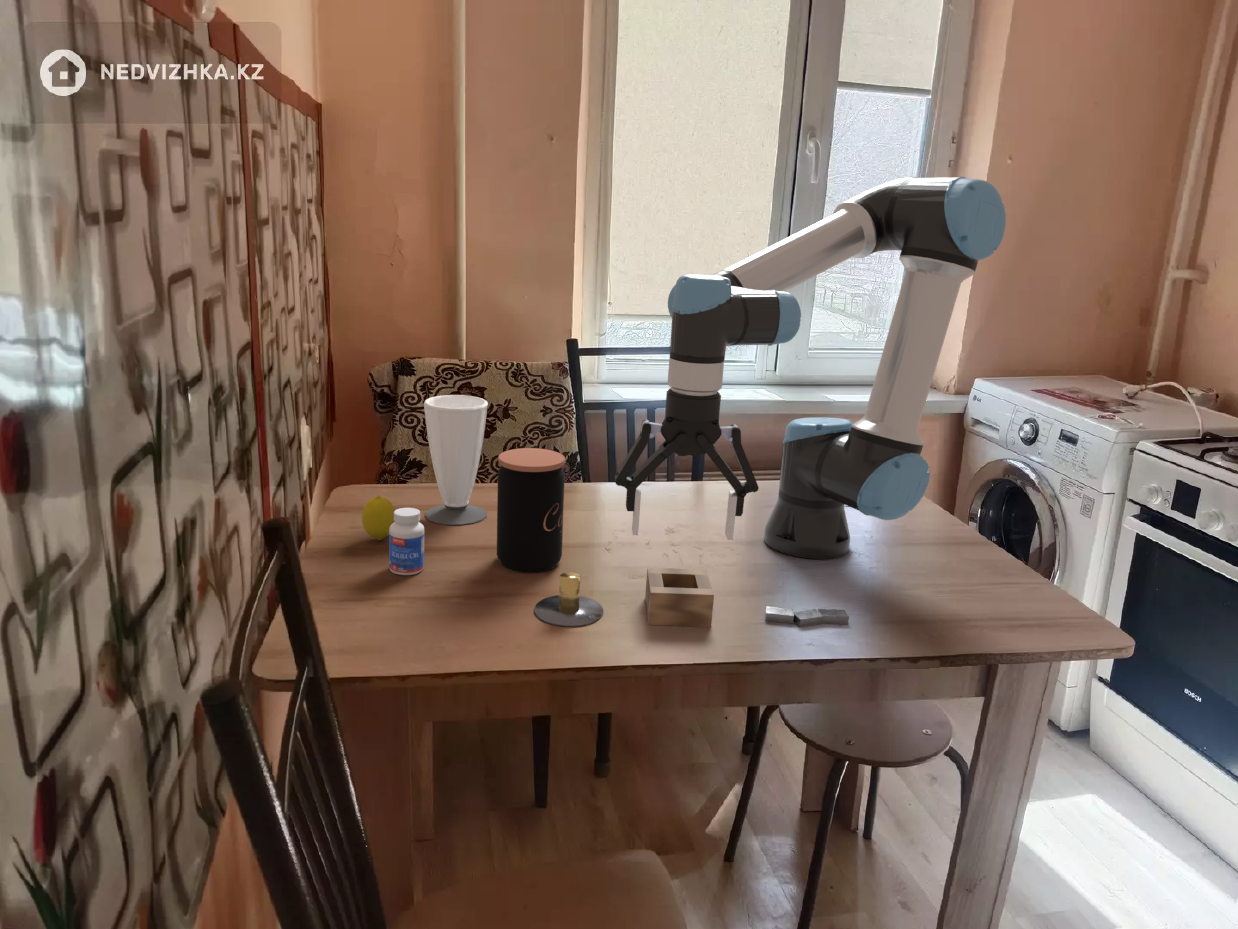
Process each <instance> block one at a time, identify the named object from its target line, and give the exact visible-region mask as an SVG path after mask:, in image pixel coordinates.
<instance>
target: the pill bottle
mask: <svg viewBox="0 0 1238 929" xmlns="http://www.w3.org/2000/svg"><path fill="white" fill-rule="evenodd" d="M394 510H395V511H394V521H395V523H393V524H392V525H391V526H390V528H389V535H388V544H389V545H388V549H389V550H388V554H389V555H388V556H389V559H388V561H389V562H388V566H389V567H388V568H389V571H390V572H392V573H393V574H396V575H399V576H412V575H413V576H414V575H416V574H419V573H421V572H422V571H423V570H424V568H425V526H424V525H423V524H422V523H421V522H420V520H421V511H420V510H419V509H417V508H414V507H400V508H396V509H394Z"/></svg>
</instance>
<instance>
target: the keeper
mask: <svg viewBox="0 0 1238 929" xmlns="http://www.w3.org/2000/svg"><path fill="white" fill-rule="evenodd" d="M558 587H559V589H558V590H559V592H558V593H559V594H558V595H557V594H556V595H552V596H547V597H545V598H542V599H541V600H539V601H538V602H537V603H536V604H535V606H534V614H535V615H536V617H537V618H538V619H539V620H541V621H543V622H545V623H547V624H550V625H552V626H558V627H559V626H560V627H570V628H573V627H582V626H587V625H591V624H594V623H596V622H598V621H599V620H600V619H601V618H602V617H603V615H604V609H603V606H602V605H601V603H599V602H598V601H597V600H594V599H592V598H590V597H588V596H582V595H581V575H580V574H579V573H577V572H571V571H569V572H568V571H567V572H566V571H565V572H563V573H562V572H561V574H560V575H559V586H558Z"/></svg>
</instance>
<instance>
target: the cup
mask: <svg viewBox="0 0 1238 929" xmlns="http://www.w3.org/2000/svg"><path fill="white" fill-rule="evenodd" d="M488 403H489V402H488V401H487V400H486V399H484V398H481V397H478V396H471V395H465V394H447V395H438V396H437V395H436V396H431V397H428V398H427V399H425V400H424V402H423V407H424V408H423V409H424V417H425V418H424V419H425V424H426V435H427V440H428V445H429V446H428V447H429V451H430V452H429V453H430V456H431V462H432V468H433V471H434V475H435V479H436V483H437V484H436V485H437V487H438V491H439V494H440V497H441V500H442V504H440V505H436V506H433V507H431V508H429V509H427V510H426V511H425V512H424V517H425V518H426V520H428V521H429V522H431V523H434V524H437V525H443V526H467V525H468V526H469V525H473V524H477V523H479V522H481V521H483V520H484V519H486V518H487V515H488V511H486V510H485V509H484V508H482V507H481V506H478V505H473V504H469V502H470V499H471V496H472V493H473V489H474V487H475V483H476V482H475V481H476V478H477V474H478V469H479V465H480V459H481V454H482V449H483V443H484V437H485V429H486V421H487V420H486V419H487V413H488V412H487V411H488V405H489V404H488Z"/></svg>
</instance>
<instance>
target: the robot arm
mask: <svg viewBox="0 0 1238 929" xmlns="http://www.w3.org/2000/svg"><path fill="white" fill-rule="evenodd" d="M1006 216H1007V215H1006V208H1005V203H1003V198H1002V195H1001V194H1000V192H999V191H998V189H997V188H996V187H995V186H994V185H993V184H992V183H990V182H989V181H987V180H984V179H978V178H970V177H965V176H959V177H919V176H908V177H901V178H897V179H894V180H890V181H888V182H884V183H883V184H880V185H878V186H875V187H872V188H870V189H867V190H865V191H863V192H862V193H859V194H858V195H855V196H853V197H851V198H849V199H847V200H845V201H843V202H841V203H839V204H838V205H837V206H836V207H835V209H834V210H833V213H832V215H828V216H827V217H825V218H823V219H822V220H819V221H817V222H816V223H813V224H811V225H810V226H808V227H806V228H803V229H801V230H799V231H798V232H795V233H793V234H791V235H789V236H787V237H785V238H783V239H781V240H779V241H777V242H775V243H773V244H771V245H769V246H768V247H766V248H763V249H761V250H760V251H758V252H755V253H753V254H752V255H749V256H748V257H745V258H743V259H741V260H739V261H738V262H736V263H734V264H732V265H730V266H728V267H726V268H724V269H721V270H719V271H717V272H715V273H712V274H711V275H709V274H694V273H693V274H690V273H689V274H683V275H680V276H679V277H678V279H677V280H676V283H675V284H674V285H673V287H672V288H671V290H670V292H669V294H668V297H667V298H668V299H667V308H668V309H667V310H668V313H669V315H670V317H671V329H670V331H671V332H670V342H669V343H670V345H669V347H670V348H669V361H668V370H667V371H668V373H667V381H666V382H667V383H666V384H667V385H668V387H670V388H669V389H667V390H666V396H665V409H664V419H663V422H662V423H657V422H651V421H650V420H649V419H647V418H646V419H643V420H641V421H642V422H641V425H640V430H639V435H638V436H637V438H636V440H635V441H634V442H633V444H632V447H631V448H630V450H629V451H628V452H627V455H625V456H626V457H625V458H624V460H623V461H622V463H621V465H620V467H619V468H618V470H617V472H616V473H615V475H614V481H615V482H614V483H615V485H616V486H618V487H623V488H625V489H626V495H625V496H626V497H625V509H626V511H627V512H632V524H631V525H632V526H631V531H632V532H631V533H632V536H639V526H640V514H641V513H640V511H641V498H642V488H641V486H640V485H641V484H643V482H645V481H646V479H647V478H648V477H649V476H650V475H651V474H653V473H654V471H655V470H657V468H658V467H659V466H660V465H661V464H662V463H663V462H664V461H666V460H667V459H668V458H670V457H671V456H672V455H673V453H674V454H676V455H678V456H679V457H686V456H692V457H695V458H696V457H697V458H701V457H702V456H704V455H705V454H707V456H708V457H709V458H710V460H711V461H712V462H713V463H714V465H715V466H716V467H717V469H718V470H719V472H720V473H721V474H722V476H723V477H724V478H725V479H726V481H727V482H728V484H730V486H731V488H733V490H729V491H728V500H727V511H726V518H725V531H724V533H725V537H726V539H727V540H728V541H729V540H731V541H733V540H734V533H735V523H736V517H742V516H743V514H744V505H745V498H746V496H747V494H749V493H757V492H758V491H759V490H760V487H759V485H758V482H757V479H756V477H755V475H754V472H753V470H752V467H751V465H750V462H749V461H748V457H747V455H746V452H745V450H744V447H743V444H742V431H741V429H740V428H739V425H738V424H736V423H732V424H730V425H729V426H728V425H727V426H720V414H721V413H720V411H721V400H722V395H721V394H720V392H719V391H720V390H722V388H723V378H724V367H725V366H724V365H725V357H726V350H727V347H734V346H759V345H760V346H764V345H765V346H766V345H767V346H768V347H770V346H771V347H772V346H774V345H779V344H786V343H788V342H789V343H790V341H791V340H793V339H794V338H795V337H796V336H797V333H798V332H799V329H800V326H801V318H802V312H801V311H802V310H801V307H800V304H799V302H798V300H797V298H796V297H795V295H793V294H792V293H790V292H789V290H791V289H794V288H795V287H797V286H799V285H801V284H802V283H805V282H807V281H808V280H810V279H813V278H815V277H816V276H818V275H820V274H823V273H824V272H826V271H828V270H830V269H831V268H833V267H835V266H837V265H839V264H841V263H843V262H845V261H847V260H849V259H851V258H855V259H863V258H865V257H866V258H867V257H869V256H870V255H872V254H874V253H877V252H884V251H900V254H899V257H898V258H899V261H900V262H901V264H902V266H903V268H904V271H905V273H904V276H903V279H902V284H901V287H900V290H899V294H898V298H897V299H896V304H895V307H894V311H893V315H892V318H891V322H890V324H889V325H890V326H889V329H888V332H887V335H886V339H885V342H884V347H883V350H882V352H881V353H882V354H881V356H880V360H879V364H878V368H877V369H876V370H877V371H876V374H875V377H874V381H873V384H872V388H871V391H870V395H869V399H868V402H867V405H866V409H865V413H864V415H863V417H862V418H860V419H858V420H857V421H855V422H853V421H852V420H851V419H845V418H839V417H823V416H821V417H804V418H803V417H802V418H801V417H800V418H796V419H793V420H791V421H789V422H788V424H787V425H786V428H785V432H784V433H785V434H784V439H783V440H782V452H781V453H782V454H781V463H780V464H781V465H780V475H779V485H778V496H777V500H776V503H775V505H774V507H773V509H772V511H771V514H770V516H769V517H768V520H767V522H766V524H765V528H764V535H763V540H764V542H765V544H766V545H767V546H769V547H770V548H771V549H773V550H775V551H777V552H780V553H782V554H786V555H789V556H793V557H797V558H802V559H803V558H805V559H814V560H815V559H816V560H819V559H820V560H824V559H825V560H826V559H834V558H838V557H842V556H844V555H846V554H847V553H848V552H849V550H850V543H851V535H850V529H849V523H848V519H847V516H846V510H845V506H848V507H849V508H852V509H854V510H856V511H858V512H860V513H862V514H863V515H865V516H871V517H874V518H877V519H880V520H883V521H892V520H893V521H894V520H897V519H900V518H902V517H904V516H906V515H907V514H908V513H909V512H910V511H913V510H914V509H915V507H917V506H918V504H919V503H920V501H921V500H922V499H923V497H924V495H925V493H926V492H927V490H928V487H929V483H930V479H931V477H930V476H931V474H930V470H929V468H930V466H929V464H928V462H927V460H925V459H924V457H923V456H921V453H922V451H923V448H924V444H925V442H924V440H923V439H922V437H921V435H920V434H919V431H918V429H919V426H920V423H921V420H922V416H923V412H924V410H925V407H926V406H925V405H926V404H927V399H928V395H929V392H930V388H931V385H932V383H933V380H934V375H935V372H936V369H937V365H938V363H939V359H940V356H941V352H942V349H943V345H944V341H945V339H946V336H947V331H948V328H949V325H950V322H951V319H952V315H953V311H954V308H955V306H956V302H957V298H958V295H959V291H960V288H961V284H962V283H963V282H964V281H966V280H967V279H969V278H970V277H973V275H975V273H976V270H977V266H978V263H979V261H981V260H982V261H983V260H985V259H987V258H989V257H991V256H992V255H993V254H994V253H995V251H997V250H998V248H999V247H1000V245H1001V243H1002V241H1003V238H1004V236H1005V233H1006V224H1007V219H1006V218H1007V217H1006ZM658 433H660V434H661V436H662V437H663V438H664V441H663V442H662V443H661V445H659V447H658V449H656V450H655V451H654V452H653V454H651V455H650V457H648V459H646V460H645V462H643V463H642V464H641V465H640V466H639V468H638V469H637V470H636V471H635V472H633V473H632V475H631V476H629V475H630V473H631V471H632V470H633V469H634V467H635V465H636V463H637V462H638V460H639V459H640V458H641V456H642V454H643V451H644V450H645V448H646V447H647V445H648V443H649V440H650V439H653V438H655V436H656V434H658ZM721 436H723V437H724V439H725V441H726V442H728V443H730V444H731V448H732V449H733V452H734V454H735V457H736V459H737V461H738V464H739V467H740V469H741V472H742V474H743V476H744V479H745V481H744V482H741V480H740V479H739V478H738V477H737V475H736V474H735V473H734V471H733V470H732V468H731V467H730V466H729V465H728V462H726V460H725V459H724V458H723V457H722V455H721V454H720V453H719V451H718V450H717V448H716V447H715V446H714V445H715V443H716V442H717V441H718V440H719V439H720V438H721Z"/></svg>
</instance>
